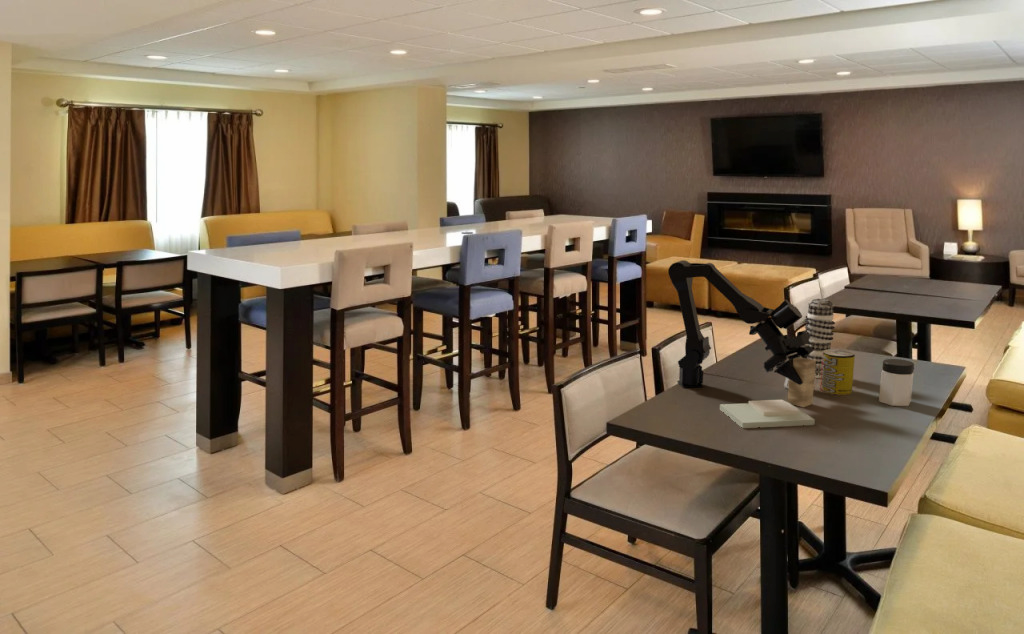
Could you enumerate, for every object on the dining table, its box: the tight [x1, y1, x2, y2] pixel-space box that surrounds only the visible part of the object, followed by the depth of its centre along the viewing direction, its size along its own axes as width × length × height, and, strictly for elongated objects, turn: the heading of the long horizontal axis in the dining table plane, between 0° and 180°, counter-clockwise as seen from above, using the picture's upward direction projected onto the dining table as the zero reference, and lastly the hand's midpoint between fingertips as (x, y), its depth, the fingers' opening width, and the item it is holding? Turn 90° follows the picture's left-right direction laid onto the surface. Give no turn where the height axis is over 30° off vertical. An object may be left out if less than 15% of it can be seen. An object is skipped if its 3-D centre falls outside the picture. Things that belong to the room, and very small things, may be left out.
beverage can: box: [819, 348, 856, 396], centre depth 236 cm, size 9×9×12 cm
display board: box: [719, 399, 816, 429], centre depth 213 cm, size 20×16×2 cm
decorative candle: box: [804, 298, 836, 379], centre depth 252 cm, size 9×9×25 cm
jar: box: [878, 358, 915, 407], centre depth 224 cm, size 9×8×12 cm
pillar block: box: [786, 357, 816, 408], centre depth 223 cm, size 5×5×13 cm
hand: (806, 382), depth 222 cm, fingers closed on pillar block, 5 cm apart
